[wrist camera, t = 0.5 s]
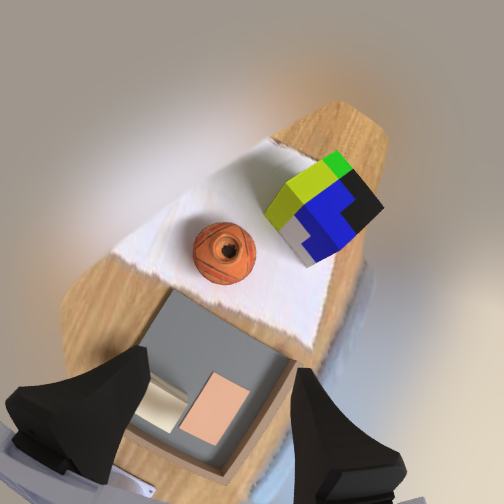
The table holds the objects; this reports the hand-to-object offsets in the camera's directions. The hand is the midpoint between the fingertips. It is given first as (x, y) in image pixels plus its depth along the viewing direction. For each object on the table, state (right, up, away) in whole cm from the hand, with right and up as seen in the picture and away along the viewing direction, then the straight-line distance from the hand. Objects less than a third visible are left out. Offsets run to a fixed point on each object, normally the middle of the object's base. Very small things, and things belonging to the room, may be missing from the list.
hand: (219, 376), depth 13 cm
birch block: (-11, -12, +19) cm, 25 cm away
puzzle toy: (+10, +10, +31) cm, 34 cm away
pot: (-3, +5, +27) cm, 27 cm away
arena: (-6, -12, +21) cm, 25 cm away
